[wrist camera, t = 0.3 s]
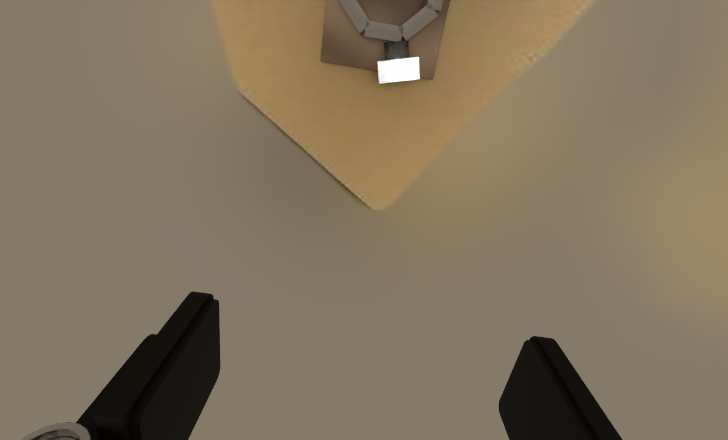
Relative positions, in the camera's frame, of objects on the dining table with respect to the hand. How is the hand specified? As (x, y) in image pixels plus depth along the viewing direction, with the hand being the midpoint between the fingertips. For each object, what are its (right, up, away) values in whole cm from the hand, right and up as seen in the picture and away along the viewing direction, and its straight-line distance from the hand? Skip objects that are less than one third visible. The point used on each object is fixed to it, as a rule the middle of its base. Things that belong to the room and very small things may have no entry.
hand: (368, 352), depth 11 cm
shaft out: (+3, +19, +23) cm, 30 cm away
